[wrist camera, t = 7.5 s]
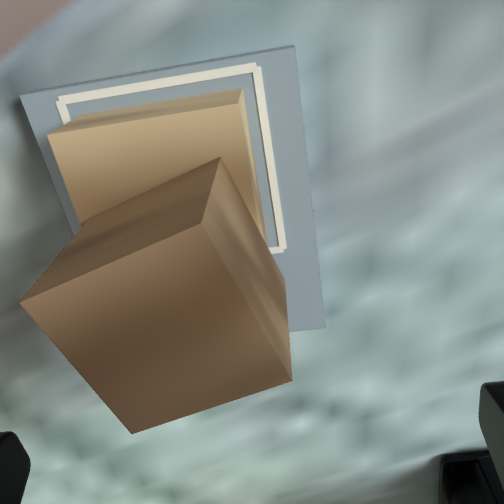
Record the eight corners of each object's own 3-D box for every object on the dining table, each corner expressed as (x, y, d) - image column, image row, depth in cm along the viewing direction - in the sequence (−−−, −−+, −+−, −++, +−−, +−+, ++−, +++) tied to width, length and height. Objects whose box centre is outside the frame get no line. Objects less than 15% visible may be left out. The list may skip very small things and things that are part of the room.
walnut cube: (284, 279, 16) (292, 381, 12) (165, 326, 17) (131, 434, 13) (220, 156, 14) (201, 223, 10) (89, 218, 15) (18, 302, 11)
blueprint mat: (323, 314, 22) (325, 328, 21) (123, 338, 23) (118, 352, 22) (293, 45, 16) (295, 47, 15) (31, 91, 17) (18, 95, 16)
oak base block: (266, 237, 19) (267, 275, 16) (128, 256, 19) (106, 295, 17) (242, 87, 16) (237, 103, 13) (81, 114, 17) (46, 135, 14)
